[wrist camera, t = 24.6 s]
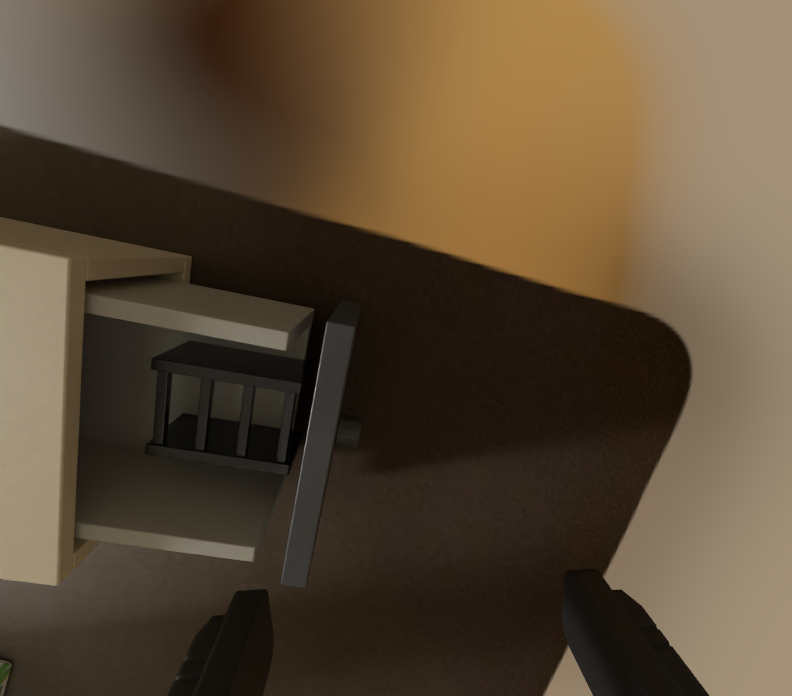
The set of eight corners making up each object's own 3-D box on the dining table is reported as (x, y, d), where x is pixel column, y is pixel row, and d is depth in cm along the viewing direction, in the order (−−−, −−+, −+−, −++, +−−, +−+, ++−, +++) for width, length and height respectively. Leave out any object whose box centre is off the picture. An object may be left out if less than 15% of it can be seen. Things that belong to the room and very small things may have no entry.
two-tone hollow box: (381, 307, 24) (385, 332, 16) (343, 494, 27) (331, 592, 19) (25, 234, 22) (-163, 224, 14) (22, 444, 25) (-137, 530, 17)
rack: (189, 339, 23) (150, 357, 19) (314, 361, 23) (302, 383, 19) (182, 422, 24) (144, 455, 20) (301, 440, 24) (288, 476, 20)
